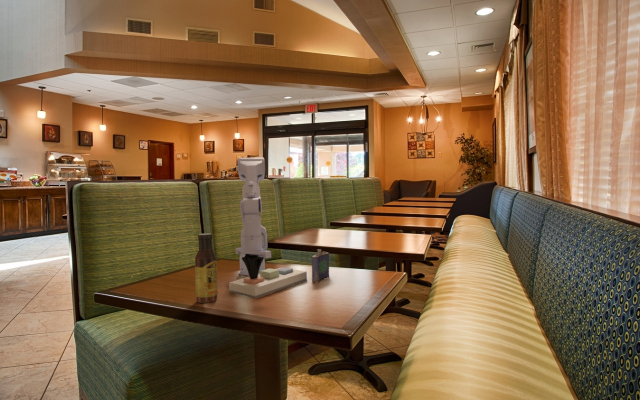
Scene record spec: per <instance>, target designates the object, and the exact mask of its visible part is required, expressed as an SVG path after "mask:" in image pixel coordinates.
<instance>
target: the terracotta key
mask: <svg viewBox="0 0 640 400" xmlns="http://www.w3.org/2000/svg"><path fill="white" fill-rule="evenodd" d="M247 277H248V278H246V277H244V278H245V279H244V283H248V284H253V285H254V284H257V283H260V282H263V281H264V278H263V277H258V278H255V279H250V277H249V276H247Z"/></svg>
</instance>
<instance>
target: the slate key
mask: <svg viewBox="0 0 640 400" xmlns="http://www.w3.org/2000/svg"><path fill="white" fill-rule="evenodd" d="M279 268H280V269H278V268H275V269H276V270H279V274H282V275H286V274H289V273H292V272H293V269H294V268H289V267H283V266H282V268H281V267H279Z"/></svg>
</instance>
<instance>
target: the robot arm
mask: <svg viewBox="0 0 640 400" xmlns="http://www.w3.org/2000/svg"><path fill="white" fill-rule="evenodd" d="M265 163H266V161H265V158H264V157H263V156H261V157H238V158H237V173H238V177H239V180H240V181H242V182H244V184H243V186H242V194H241V200H240V205H239V207H240V215H241V222H242V229H241V232H240V247H235V254H236V255H239V272H237V273H238V275H242V276H247V277H250V279H255V278H258V274H260V271H262V270H265V269H266V264H265V261H266V260H265V259H271V258H272V251H271V250H268V234H267V233H268V232H267V229H266V227H265V226H263V225H262V215H263V207H262V205H263V204H262V203H263V202H262V197H261V188H260V185H259V184H260V182H262V181H263V180H265V176H266V175H265V174H266V166H265V165H266V164H265Z"/></svg>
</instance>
